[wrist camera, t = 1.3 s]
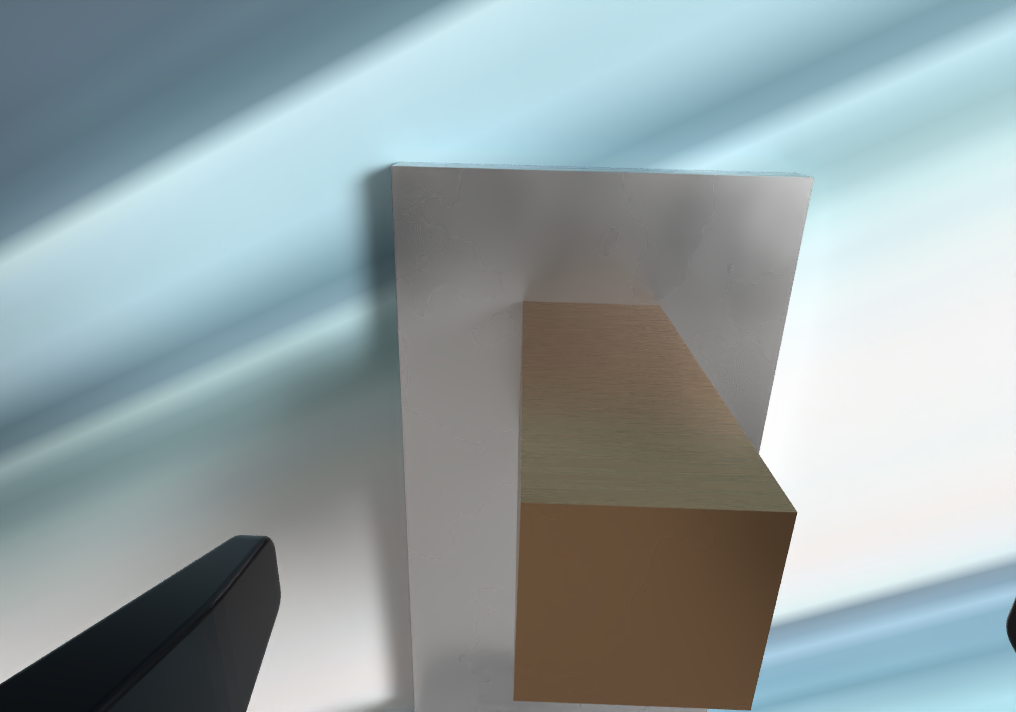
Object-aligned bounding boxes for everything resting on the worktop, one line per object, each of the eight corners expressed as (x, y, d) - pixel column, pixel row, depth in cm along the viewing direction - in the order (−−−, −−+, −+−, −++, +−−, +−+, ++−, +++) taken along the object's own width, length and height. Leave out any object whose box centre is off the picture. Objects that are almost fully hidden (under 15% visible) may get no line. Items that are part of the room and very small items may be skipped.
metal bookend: (400, 161, 13) (230, 240, 5) (792, 172, 13) (1164, 269, 5) (421, 716, 19) (354, 1114, 11) (688, 727, 19) (795, 1136, 11)
